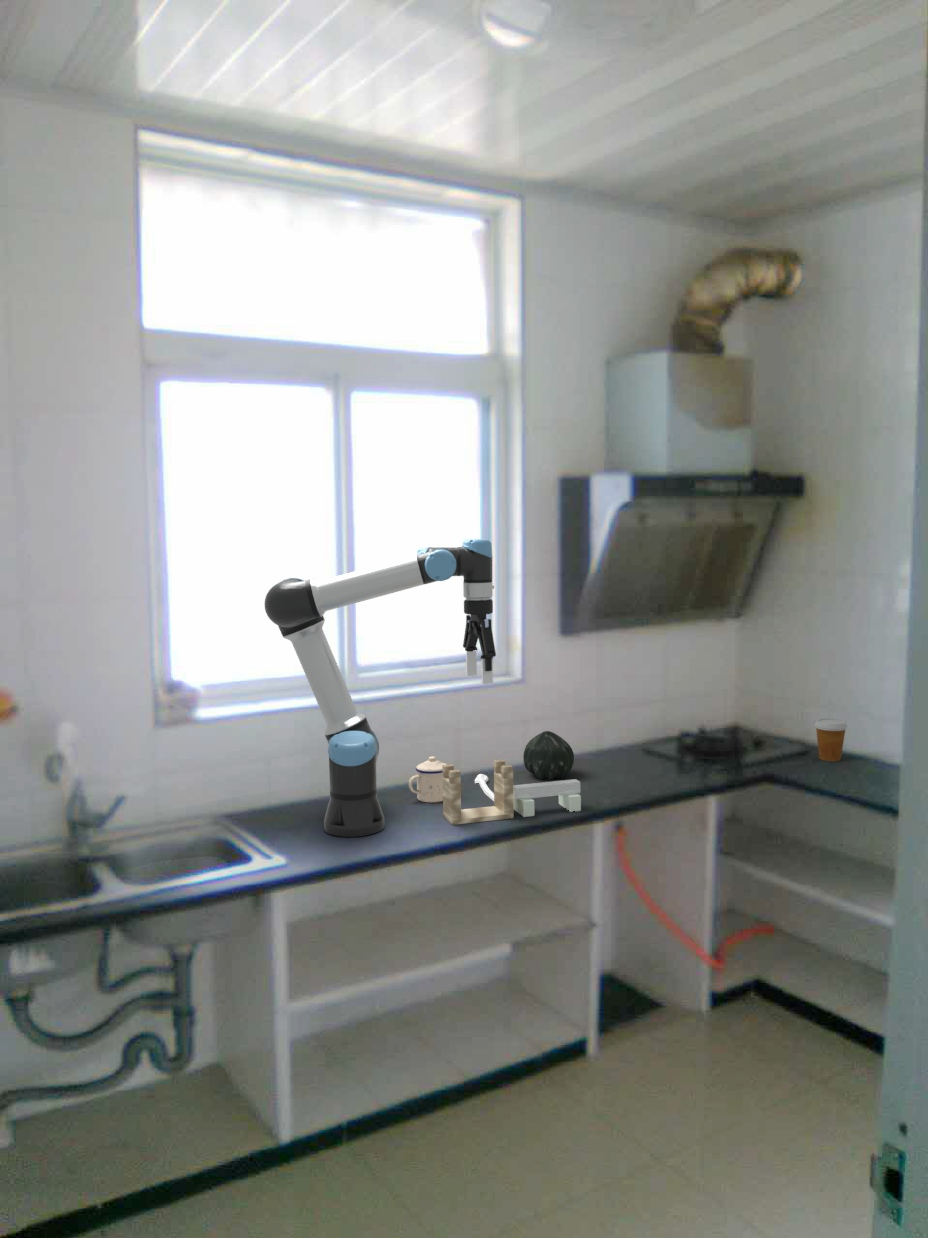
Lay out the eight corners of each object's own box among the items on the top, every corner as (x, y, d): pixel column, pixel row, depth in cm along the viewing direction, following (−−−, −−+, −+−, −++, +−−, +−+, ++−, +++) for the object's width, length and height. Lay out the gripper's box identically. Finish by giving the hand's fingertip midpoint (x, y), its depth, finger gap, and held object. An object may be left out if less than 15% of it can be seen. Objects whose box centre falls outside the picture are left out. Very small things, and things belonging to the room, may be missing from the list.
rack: (451, 824, 250) (450, 772, 248) (443, 815, 257) (442, 765, 256) (513, 818, 254) (513, 766, 253) (503, 809, 262) (502, 759, 261)
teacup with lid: (438, 792, 280) (437, 751, 279) (455, 799, 272) (455, 757, 271) (401, 799, 273) (400, 757, 272) (418, 807, 266) (417, 764, 264)
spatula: (512, 808, 264) (512, 798, 264) (498, 810, 263) (497, 799, 263) (486, 781, 292) (486, 772, 291) (473, 782, 291) (473, 773, 290)
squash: (559, 749, 306) (533, 717, 299) (590, 760, 293) (565, 727, 286) (531, 784, 301) (504, 753, 294) (562, 797, 289) (535, 765, 282)
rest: (523, 817, 255) (523, 802, 255) (513, 808, 263) (512, 793, 262) (580, 810, 260) (580, 796, 259) (568, 802, 268) (568, 788, 267)
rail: (516, 799, 257) (516, 788, 257) (512, 796, 260) (512, 785, 260) (580, 793, 262) (580, 782, 262) (576, 790, 265) (575, 779, 265)
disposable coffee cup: (815, 762, 307) (816, 723, 305) (812, 754, 316) (813, 717, 315) (848, 763, 304) (849, 725, 303) (843, 756, 314) (844, 718, 312)
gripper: (507, 601, 247) (508, 686, 249) (477, 594, 271) (478, 671, 273) (479, 603, 245) (480, 687, 247) (450, 595, 268) (452, 673, 271)
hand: (479, 679), depth 260 cm, fingers open, 13 cm apart
